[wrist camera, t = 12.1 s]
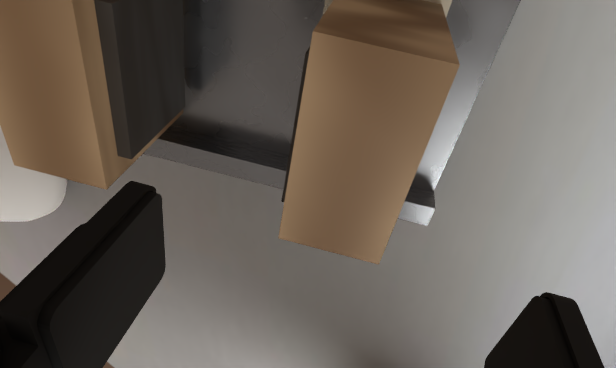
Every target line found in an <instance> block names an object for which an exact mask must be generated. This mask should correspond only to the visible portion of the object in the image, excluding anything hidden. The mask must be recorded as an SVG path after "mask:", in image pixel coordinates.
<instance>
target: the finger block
mask: <svg viewBox="0 0 616 368" xmlns="http://www.w3.org/2000/svg"><path fill="white" fill-rule="evenodd" d="M459 66H460V64H459V61H458V57H457V54H456V51H455V47H454V44H453V40H452V37H451V34H450V30H449V27H448V24H447V20H446V17H445V13H444V10H443V7H442V4H437V3H433V2H428V1H424V0H333V1H332V3H331V4H330V6H329V7H328V9H327V10H326V12H325V13H324V15H323V16H322V18H321V19H320V21H319V23H318V24H317V26H316V27H315V29H314V30H313V33H312V39H311V45H310V47H309V48H308V50H307V51H306V53H305V59H304V65H303V71H302V77H301V84H300V90H299V96H298V102H297V109H296V115H295V121H294V127H293V133H292V140H291V146H290V152H289V158H288V165H287V171H286V177H285V183H284V189H283V196H282V202H284V207H283V213H282V219H281V225H280V231H279V237H278V238H280V239H284V240H287V241H291V242H295V243H299V244H303V245H306V246H310V247H314V248H318V249H322V250H325V251H329V252H333V253H337V254H341V255H345V256H348V257H352V258H356V259H360V260H364V261H367V262H371V263H375V264H379V263H380V260H381V258H382V255H383V253H384V250H385V248H386V246H387V243H388V241H389V238H390V236H391V233H392V231H393V228H394V226H395V223H396V221H397V218H398V216H399V214H400V211H401V209H402V206H403V204H404V201H405V199H406V196H407V194H408V191H409V189H410V186H411V184H412V182H413V179H414V177H415V174H416V172H417V169H418V167H419V164H420V162H421V159H422V157H423V154H424V152H425V150H426V147H427V145H428V142H429V140H430V137H431V135H432V132H433V130H434V127H435V125H436V122H437V120H438V118H439V115H440V113H441V110H442V108H443V105H444V103H445V100H446V98H447V95H448V93H449V90H450V88H451V86H452V83H453V81H454V78H455V76H456V73H457V71H458V68H459Z"/></svg>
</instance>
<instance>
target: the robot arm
mask: <svg viewBox="0 0 616 368" xmlns="http://www.w3.org/2000/svg"><path fill="white" fill-rule="evenodd" d="M164 272H165V248H164V231H163V214H162V198H161V195H160V194H157V193H156V189H155V188H154V187H153V186H149V185H145V184H142V183H138V182H134V181H130V182H128V183H127V184H126V185H125V186H124V187H123V188H122V189H121V190H120V191H119V192H118V193H117V194H116V195H115V196H113V197H112V198H111V199H110V200H109V201H108V202H107V203H106V204H105V205H104V206H103V207H102V208H101V209H100V210H99V211H98V212H97V213H96V214H95V215H94V216H93V217H92V218H91V219H90V220H89V221H88V222H87V223H85V224H82V225H80V226H79V227H77V228H76V229H75V230H74V231H73V232H72V233H71V234H70V235H69V236H68V237H67V238H66V239H65V240H64V241H63V242H61V243H60V244H59V245H58V246H57V247H56V248H55V249H54V250H53V251H52V252H51V253H50V254H49V255H48V256H47V257H46V258H45V259H44V260H43V261H42V262H41V263H40V264H39V265H38V266H37V267H36V268H35V269H34V270H32V271H31V272H30V273H29V274H28V275H27V276H26V277H25V278H24V279H23V280H22V281H21V282H20V283H19V284H18V285H17V286H16V287H15V288H14V289H13V290H12V291H11V292H10V293H9V294H8V295H7V296H6V297H5V298H4V299H2V300H1V301H0V368H103V366H104V365H105V363H106V362H107V360H108V359H109V357H110V356H111V354H112V353H113V351H114V350H115V348H116V347H117V345H118V344H119V342H120V341H121V339H122V338H123V336H124V335H125V333H126V332H127V330H128V329H129V327H130V326H131V324H132V323H133V321H134V320H135V318H136V317H137V315H138V314H139V312H140V311H141V309H142V308H143V306H144V305H145V303H146V302H147V300H148V299H149V297H150V296H151V294H152V293H153V291H154V289H155V288H156V286H157V285H158V283H159V282H160V280H161V279H162V277H163V275H164ZM484 368H604V366H603V363H602V361H601V359H600V356H599V354H598V352H597V349H596V347H595V345H594V342H593V340H592V338H591V335H590V333H589V331H588V328H587V326H586V324H585V321H584V319H583V317H582V314H581V312H580V309H579V307H578V305H577V303H576V302H575V301H574V300H573V299H570V298H566V297H563V296H559V295H555V294H552V293H547V292H546V293H543V294H542V295H541V296H540V297H539V296H535V297H533V298H532V299H531V301H530V302H529V303H528V305H527V306H526V307H525V308H524V310H523V311H522V312H521V314H520V315H519V316H518V317H517V319H516V320H515V321H514V323H513V324H512V325H511V326H510V328H509V329H508V330H507V332H506V333H505V334H504V335H503V337H502V338H501V339H500V341H499V342H498V343H497V344H496V346H495V347H494V348H493V350H492V351H491V352H490V353H489V355H488V356H487V358H486V360H485V365H484Z"/></svg>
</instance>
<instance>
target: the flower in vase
mask: <svg viewBox="0 0 616 368" xmlns="http://www.w3.org/2000/svg"><path fill="white" fill-rule="evenodd" d="M66 186H67V179H65V178H61V177H57V176H53V175H49V174H46V173H42V172H38V171H34V170H30V169H26V168H23V167H19V166H15V165H14V163H13V160H12V158H11V155H10V152H9V149H8V146H7V143H6V140H5V137H4V135H3V132H2V129H1V126H0V221H6V222H24V221H31V220H34V219H37V218H40V217H43V216H45V215H48V214H50V213H52V212H53V211H55V210H56V209H57V208H58V207H59V206H60V205H61V203H62V201H63V199H64V197H65V193H66Z"/></svg>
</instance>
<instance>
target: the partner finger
mask: <svg viewBox="0 0 616 368" xmlns="http://www.w3.org/2000/svg"><path fill="white" fill-rule="evenodd" d="M184 108H185V71H184V33H183V0H0V126H1V129H2V132H3V135H4V137H5V140H6V143H7V146H8V149H9V152H10V155H11V158H12V160H13V163H14V165H15V166H19V167H23V168H26V169H30V170H34V171H38V172H42V173H46V174H49V175H53V176H57V177H61V178H65V179H68V180H72V181H76V182H80V183H84V184H88V185H91V186H95V187H99V188H103V189H108V188H109V187H110V186H111V185H112V184H113V183H114V182H115V181H116V180H117V179H118V178H119V177H120V176H121V175H122V174H123V173H124V172H125V171H126V170H127V169H128V168H129V167H130V166H131V165H132V164H133V163H134V162H135V161H136V160H137V159H138V158H139V157H140V156H141V155H142V154H143V153H144V152H145V151H146V150H147V149H148V148H149V147H150V146H151V145H152V144H153V143H154V142H155V141H156V140H157V139H158V138H159V137H160V136H161V135H162V134H163V133H164V132H165V131H166V130H167V129H168V128H169V127H170V126H171V125H172V124H173V123H174V122H175V121H176V120H177V119H178V118H179V117H180V116H181V115H182V114H183V109H184Z"/></svg>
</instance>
